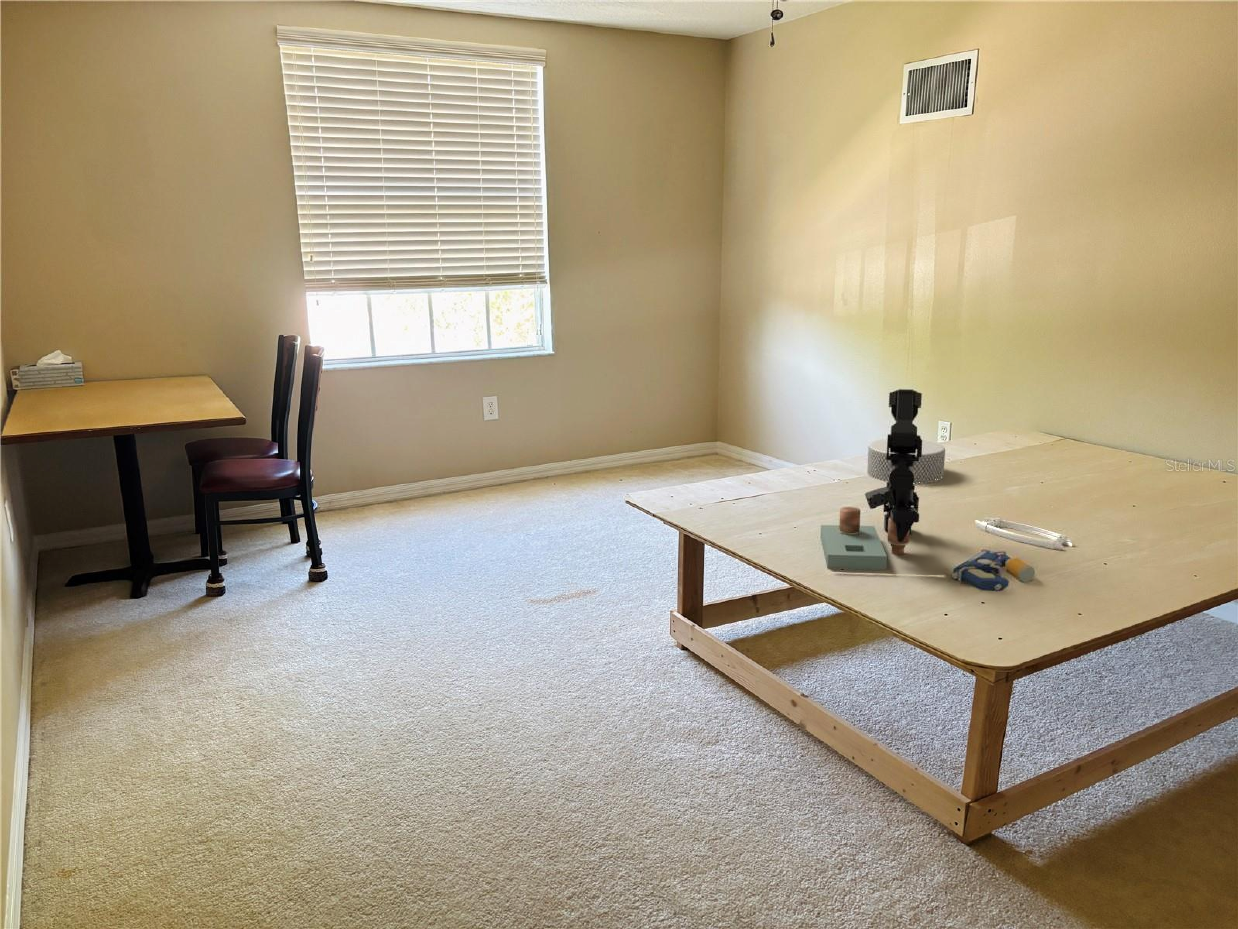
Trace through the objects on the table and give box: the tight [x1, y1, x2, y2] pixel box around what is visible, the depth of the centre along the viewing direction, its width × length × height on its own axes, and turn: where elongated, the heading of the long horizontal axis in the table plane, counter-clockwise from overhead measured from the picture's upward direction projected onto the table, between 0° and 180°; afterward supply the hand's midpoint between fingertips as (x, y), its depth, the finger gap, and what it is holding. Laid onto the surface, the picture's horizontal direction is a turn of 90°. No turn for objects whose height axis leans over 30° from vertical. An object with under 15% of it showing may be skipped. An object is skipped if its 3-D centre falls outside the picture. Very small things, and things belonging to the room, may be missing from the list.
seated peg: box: [838, 506, 861, 535], centre depth 221 cm, size 5×5×10 cm
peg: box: [886, 518, 910, 556], centre depth 213 cm, size 5×5×10 cm
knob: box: [866, 438, 946, 484], centre depth 288 cm, size 25×10×25 cm
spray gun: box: [952, 548, 1036, 592], centre depth 198 cm, size 21×4×15 cm
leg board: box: [820, 524, 888, 571], centre depth 215 cm, size 14×23×4 cm, turn 171°
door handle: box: [974, 516, 1074, 551], centre depth 225 cm, size 3×10×25 cm
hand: (898, 538), depth 213 cm, fingers closed on peg, 5 cm apart
